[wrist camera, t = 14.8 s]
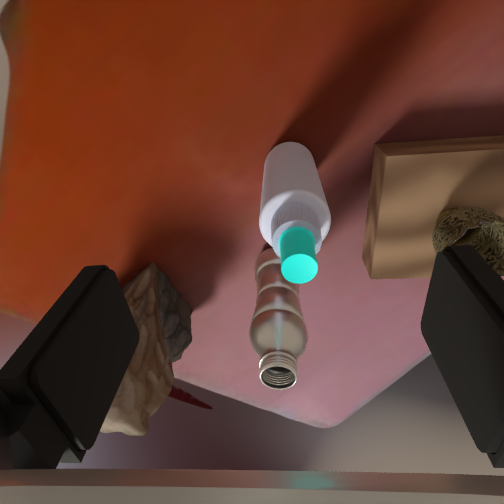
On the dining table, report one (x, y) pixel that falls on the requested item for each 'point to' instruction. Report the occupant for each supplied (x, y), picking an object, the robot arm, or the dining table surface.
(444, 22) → the dining table surface
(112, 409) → the brown rock
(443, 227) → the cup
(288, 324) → the plastic bottle
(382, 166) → the walnut plinth
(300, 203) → the spray bottle
